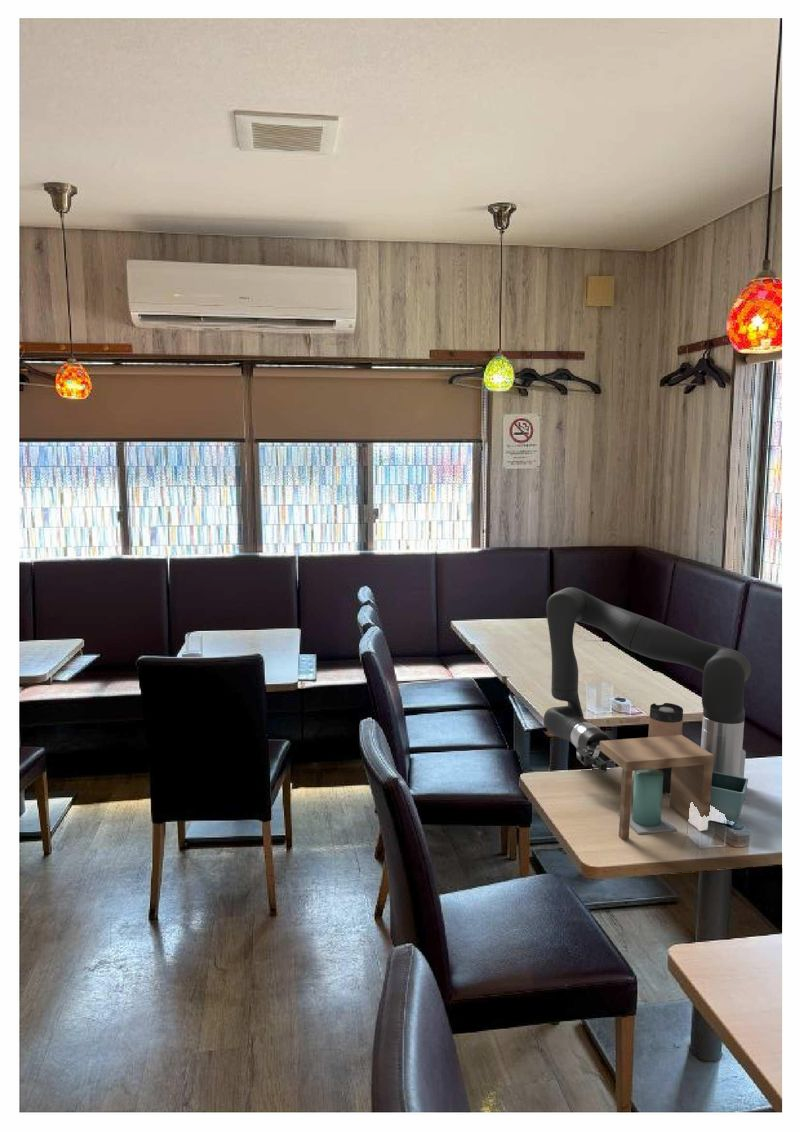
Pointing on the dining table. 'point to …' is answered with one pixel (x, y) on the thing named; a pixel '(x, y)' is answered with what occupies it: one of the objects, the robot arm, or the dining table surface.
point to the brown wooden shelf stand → (664, 752)
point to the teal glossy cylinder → (647, 797)
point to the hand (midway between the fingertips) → (622, 766)
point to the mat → (641, 829)
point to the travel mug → (665, 730)
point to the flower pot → (728, 794)
